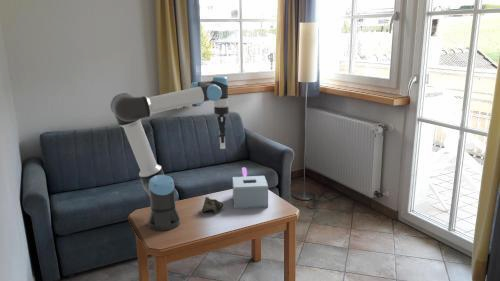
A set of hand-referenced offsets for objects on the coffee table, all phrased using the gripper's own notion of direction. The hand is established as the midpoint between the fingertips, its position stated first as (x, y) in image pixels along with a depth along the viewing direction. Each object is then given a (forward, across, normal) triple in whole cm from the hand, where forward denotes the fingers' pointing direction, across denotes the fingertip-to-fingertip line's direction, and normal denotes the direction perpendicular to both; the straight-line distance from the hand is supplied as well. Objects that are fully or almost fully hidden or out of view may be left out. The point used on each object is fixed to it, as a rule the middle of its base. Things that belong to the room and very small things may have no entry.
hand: (222, 145), depth 220 cm
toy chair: (+32, +10, -14) cm, 36 cm away
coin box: (+32, -4, -14) cm, 35 cm away
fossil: (+32, -13, +6) cm, 35 cm away
